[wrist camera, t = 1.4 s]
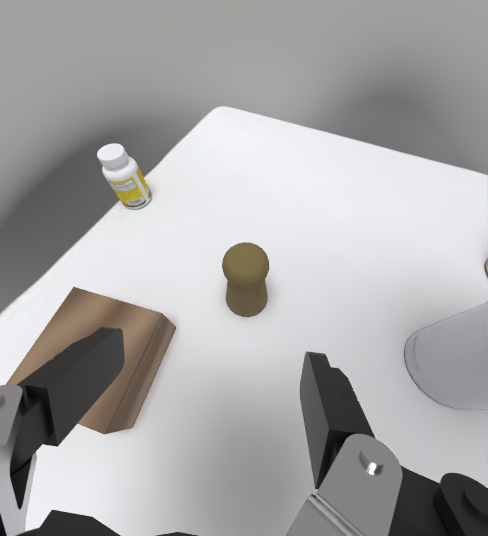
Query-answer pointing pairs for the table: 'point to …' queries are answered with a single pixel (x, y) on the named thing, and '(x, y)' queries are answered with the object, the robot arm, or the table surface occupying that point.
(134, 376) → the walnut riser
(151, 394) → the table surface
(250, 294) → the cork
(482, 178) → the table surface
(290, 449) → the table surface
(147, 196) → the supplement bottle
